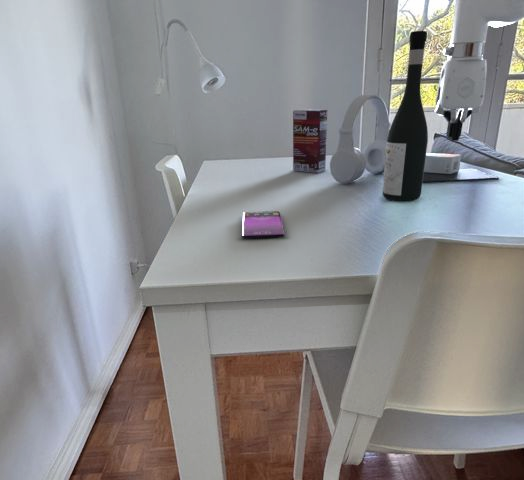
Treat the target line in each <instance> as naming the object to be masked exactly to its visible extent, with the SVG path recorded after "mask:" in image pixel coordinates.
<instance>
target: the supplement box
mask: <svg viewBox="0 0 524 480" xmlns="http://www.w3.org/2000/svg"><path fill="white" fill-rule="evenodd" d="M292 124H293V125H292V139H293V140H292V147H293V149H292V153H293V154H292V171H293V172H301V173H302V172H303V173H304V172H305V173H315V174H320V173H322V172H326V166H327V165H326V161H327V135H328V109H304V108H303V109H295V110H293V111H292Z"/></svg>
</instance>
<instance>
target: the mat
mask: <svg viewBox="0 0 524 480" xmlns="http://www.w3.org/2000/svg"><path fill="white" fill-rule="evenodd" d="M499 179H500V177H498V176H496V175H492V174H490V173H487V172H484V171H481V170H479V169H476V168H459V171H458V172H455V173H452V174H439V173H426V172H424V175H423V183H422V185H423V184H439V183H440V184H442V183H461V182H480V181H497V180H499Z"/></svg>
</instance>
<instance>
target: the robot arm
mask: <svg viewBox="0 0 524 480" xmlns="http://www.w3.org/2000/svg"><path fill="white" fill-rule="evenodd" d="M523 18H524V0H455V4H454V12H453V21H452V27H451V35H450V41H449V45H448V47H444V48H443V50H442V55H443V56H447V57H446V58H447V60H446V61H444V63H443V66H442V69H441V72H440V77H439V81H438V86H437V90H436V97H435V108H434V114H435V115H438V116H442V117H444V119H445V120H446V122H447V127H446V134H445V135H446V139H447V141H450V142H454V141H455V142H458V141H459V140H460V137H461V135H462V130H463V124H464V123H466V120H467V119H468V118H469V117H470V116H471V115H475V114H478V113H480V112H481V107H482V105H483V104H484V101H485V94H486V86H487V85H486V84H487V71H488V70H487V69H488V68H487V64H488V63H487V59H484V53H485V49H486V48H485V47H486V41H487V34H488V30H489V26H491V27H493V28H499V27H504V26H507V25H512V24H515V23H517V22H519V21H522V19H523ZM457 110H458V111H457Z"/></svg>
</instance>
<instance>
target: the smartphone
mask: <svg viewBox="0 0 524 480" xmlns="http://www.w3.org/2000/svg"><path fill="white" fill-rule="evenodd" d="M284 229H285V228H284V225H283V220H282V216H281V212H280V211H279V210H269V211H268V210H267V211H266V210H265V211H245V212H243V213H242V223H241V238H242V239H253V238H254V239H257V238H258V239H260V238H281V237H285V236H286V234H285V230H284Z"/></svg>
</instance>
